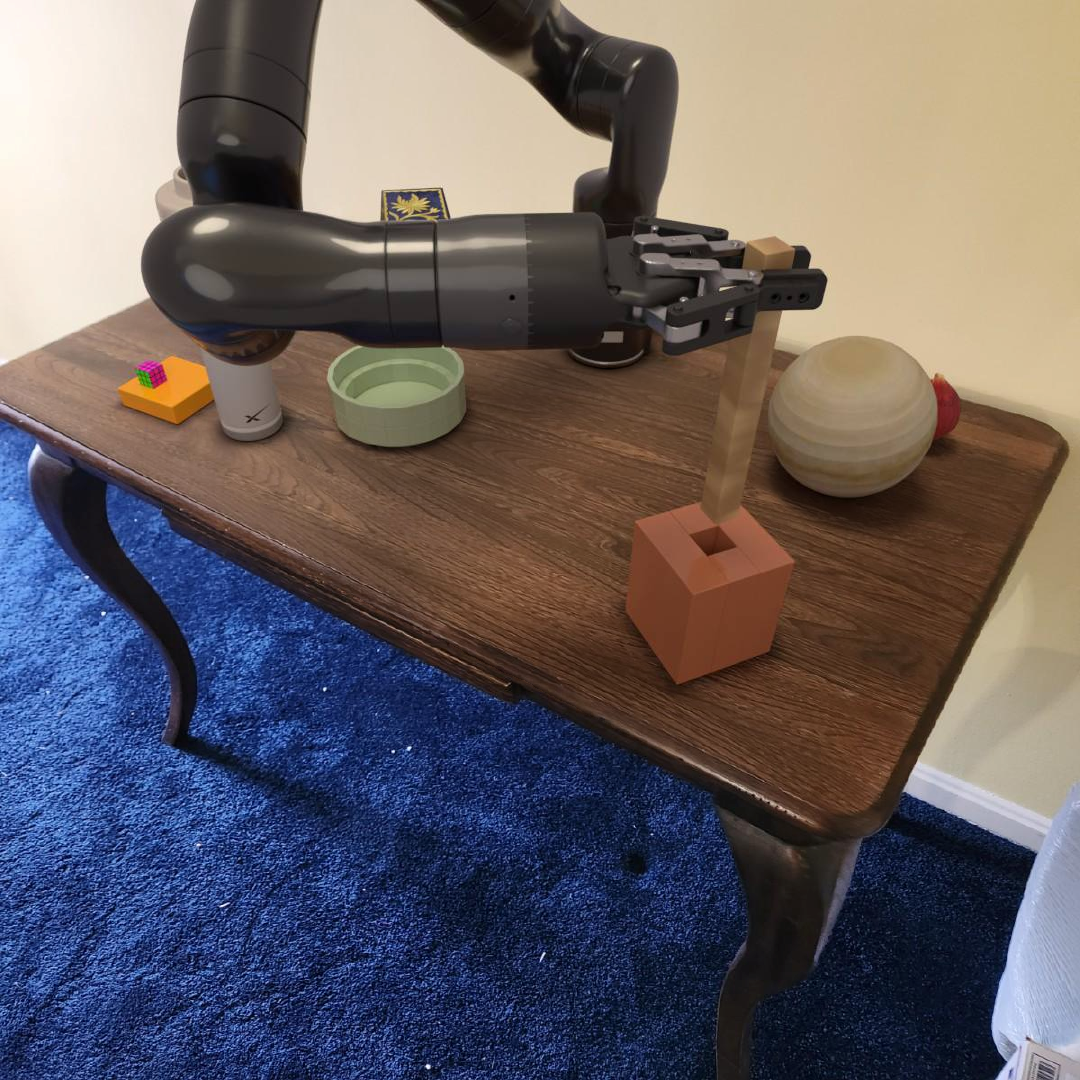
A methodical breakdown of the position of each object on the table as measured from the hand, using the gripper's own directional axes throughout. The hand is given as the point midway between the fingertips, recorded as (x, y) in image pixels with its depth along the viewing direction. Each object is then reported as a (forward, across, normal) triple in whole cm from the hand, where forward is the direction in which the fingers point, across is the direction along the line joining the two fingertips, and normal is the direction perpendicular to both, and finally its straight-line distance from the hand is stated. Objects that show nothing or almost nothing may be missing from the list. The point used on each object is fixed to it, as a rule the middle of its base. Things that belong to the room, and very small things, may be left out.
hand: (813, 276), depth 50 cm
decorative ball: (+14, +19, +31) cm, 39 cm away
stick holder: (-3, 0, +31) cm, 31 cm away
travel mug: (-44, +32, +31) cm, 63 cm away
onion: (+26, +25, +31) cm, 48 cm away
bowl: (-29, +33, +31) cm, 54 cm away
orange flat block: (-54, +38, +31) cm, 73 cm away
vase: (-51, +61, +31) cm, 85 cm away
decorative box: (-28, +64, +31) cm, 77 cm away
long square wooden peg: (-3, 0, +18) cm, 18 cm away
